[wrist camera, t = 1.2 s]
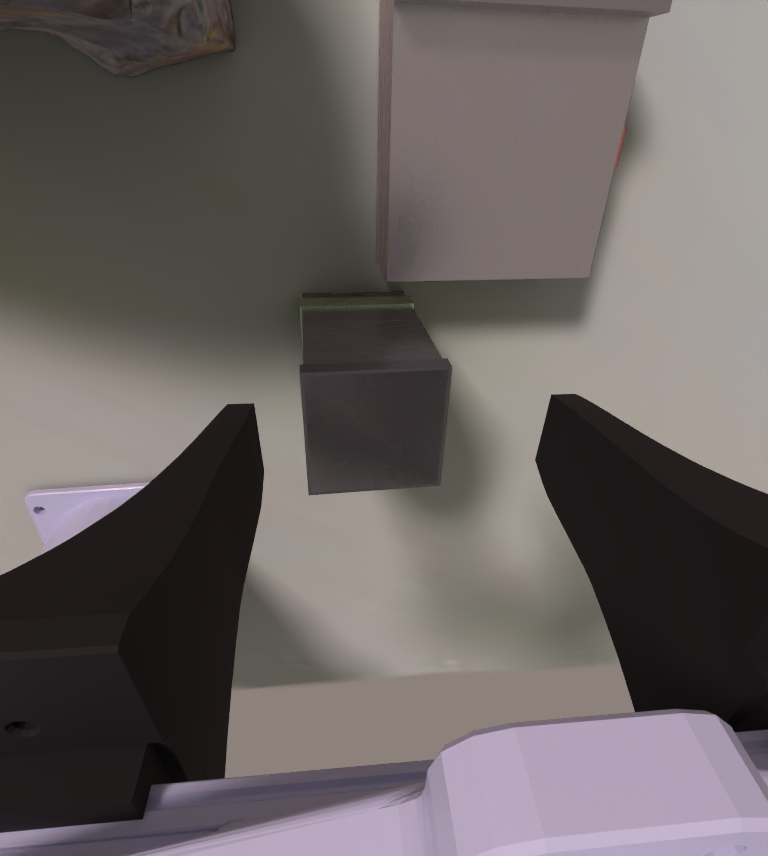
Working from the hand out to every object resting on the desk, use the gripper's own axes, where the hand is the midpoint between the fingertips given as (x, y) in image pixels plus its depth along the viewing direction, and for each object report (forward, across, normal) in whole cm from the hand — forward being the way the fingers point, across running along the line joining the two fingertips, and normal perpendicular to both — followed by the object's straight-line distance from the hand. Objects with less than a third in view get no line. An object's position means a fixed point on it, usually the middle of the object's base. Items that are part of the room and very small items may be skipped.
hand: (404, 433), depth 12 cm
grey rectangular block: (+11, +1, +3) cm, 12 cm away
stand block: (+12, -4, -5) cm, 14 cm away
